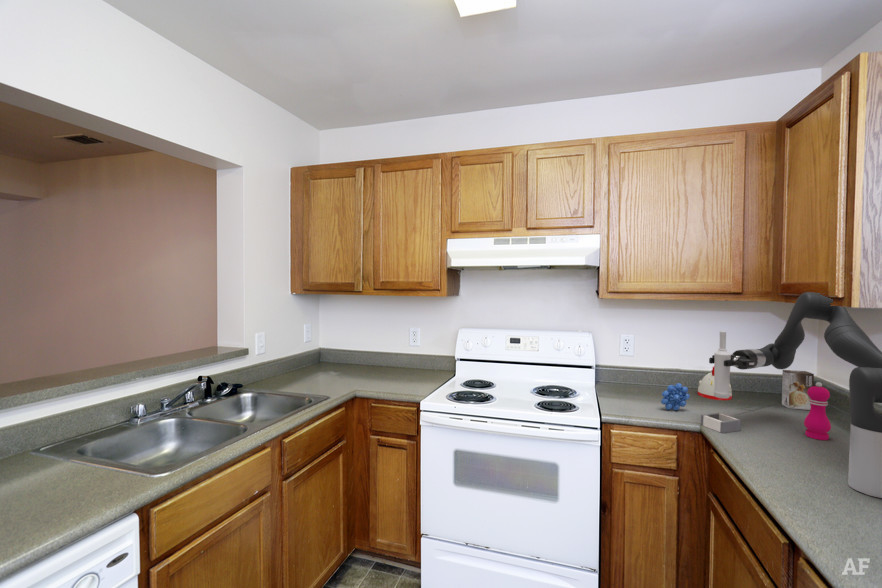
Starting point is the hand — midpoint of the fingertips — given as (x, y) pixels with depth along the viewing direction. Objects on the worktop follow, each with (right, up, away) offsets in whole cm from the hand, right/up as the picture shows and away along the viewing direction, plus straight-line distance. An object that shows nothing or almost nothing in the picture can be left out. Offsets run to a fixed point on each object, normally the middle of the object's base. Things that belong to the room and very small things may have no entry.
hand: (717, 362), depth 155 cm
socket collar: (+2, -25, +2) cm, 26 cm away
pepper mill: (+31, -26, -7) cm, 41 cm away
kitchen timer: (+29, -24, +45) cm, 58 cm away
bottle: (+2, -14, +1) cm, 14 cm away
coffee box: (+54, -25, +27) cm, 65 cm away
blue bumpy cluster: (-3, -25, +23) cm, 34 cm away
